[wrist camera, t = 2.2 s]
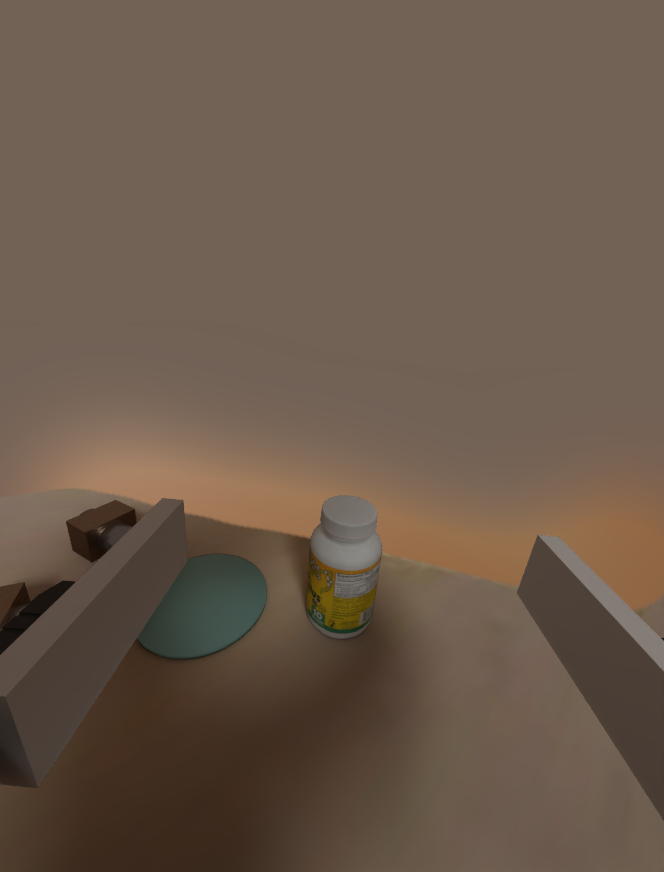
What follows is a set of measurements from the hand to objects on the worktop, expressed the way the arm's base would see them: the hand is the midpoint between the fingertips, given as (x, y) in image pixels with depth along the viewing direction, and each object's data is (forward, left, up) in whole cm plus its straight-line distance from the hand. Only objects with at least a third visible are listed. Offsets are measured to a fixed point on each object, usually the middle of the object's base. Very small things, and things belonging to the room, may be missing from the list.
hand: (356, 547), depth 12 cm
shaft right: (+20, -14, -14) cm, 28 cm away
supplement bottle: (0, -10, -14) cm, 17 cm away
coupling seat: (+11, -10, -14) cm, 20 cm away
